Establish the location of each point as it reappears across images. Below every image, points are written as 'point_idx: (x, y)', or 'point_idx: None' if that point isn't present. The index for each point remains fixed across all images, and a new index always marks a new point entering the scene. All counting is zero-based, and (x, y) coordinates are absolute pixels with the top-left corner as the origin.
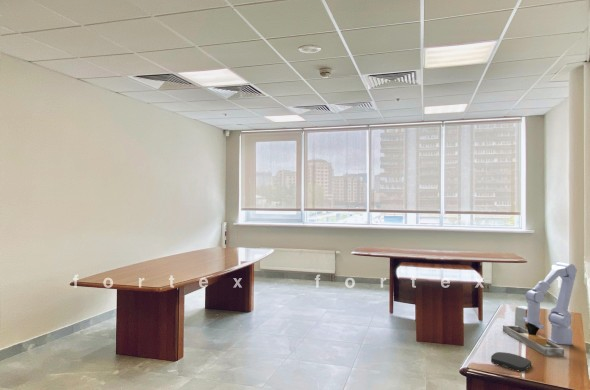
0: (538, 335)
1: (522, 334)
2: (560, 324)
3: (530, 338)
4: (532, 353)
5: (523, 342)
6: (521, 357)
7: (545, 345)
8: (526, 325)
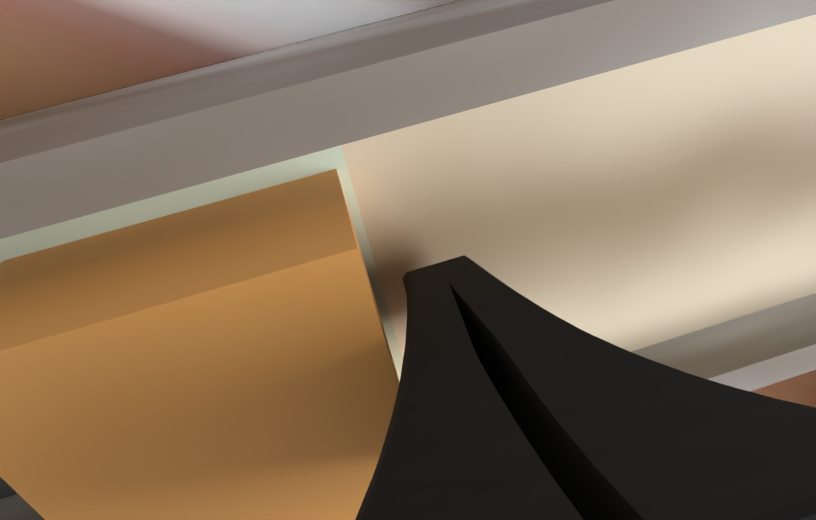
0: None
1: (777, 178)
2: None
3: (236, 236)
4: None
5: (345, 32)
6: None
7: None
8: (776, 459)
